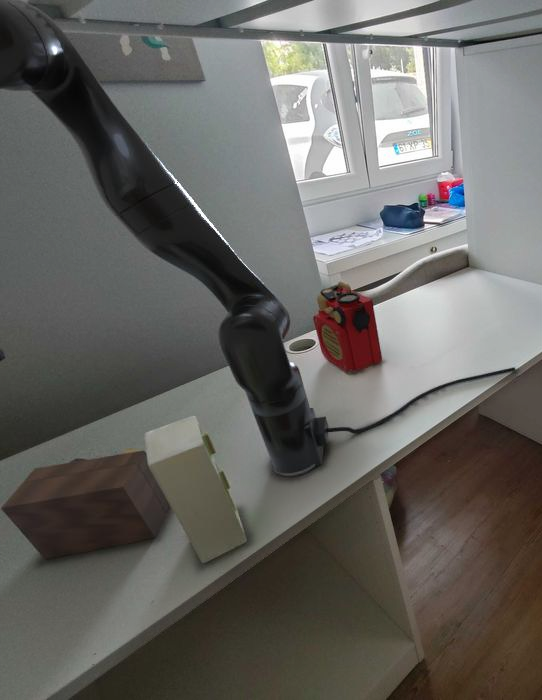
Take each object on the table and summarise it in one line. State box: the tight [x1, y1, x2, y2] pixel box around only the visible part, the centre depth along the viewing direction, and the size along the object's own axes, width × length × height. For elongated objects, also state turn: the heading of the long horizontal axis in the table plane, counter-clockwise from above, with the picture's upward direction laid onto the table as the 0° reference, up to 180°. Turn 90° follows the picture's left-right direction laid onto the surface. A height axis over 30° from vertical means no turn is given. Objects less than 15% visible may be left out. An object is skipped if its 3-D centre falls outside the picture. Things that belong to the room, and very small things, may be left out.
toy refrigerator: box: [143, 415, 248, 564], centre depth 67 cm, size 8×7×21 cm
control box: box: [0, 449, 171, 560], centre depth 72 cm, size 16×11×12 cm
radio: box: [312, 280, 383, 372], centre depth 112 cm, size 16×10×20 cm, turn 45°
